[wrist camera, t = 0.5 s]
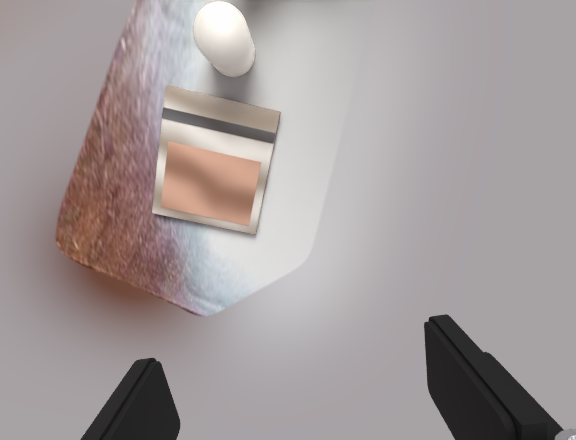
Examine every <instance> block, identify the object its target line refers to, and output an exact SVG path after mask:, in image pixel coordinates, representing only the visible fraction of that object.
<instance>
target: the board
mask: <svg viewBox="0 0 576 440" xmlns="http://www.w3.org/2000/svg"><path fill="white" fill-rule="evenodd" d="M279 117H280V112H279V111H275V110H270V109H266V108H262V107H258V106H253V105H249V104H245V103H241V102H237V101H232V100H228V99H224V98H220V97H215V96H211V95H207V94H203V93H198V92H194V91H190V90H186V89H182V88H177V87H173V86H169V85H166V89H165V98H164V107H163V113H162V126H161V135H160V144H159V153H158V163H157V172H156V181H155V190H154V199H153V209H152V213H155V214H160V215H164V216H169V217H174V218H179V219H183V220H188V221H193V222H197V223H202V224H207V225H212V226H216V227H221V228H226V229H231V230H235V231H240V232H245V233H250V234H254V235H255V234H256V229H257V224H258V220H259V215H260V210H261V205H262V200H263V195H264V190H265V185H266V180H267V175H268V171H269V166H270V161H271V156H272V151H273V146H274V141H275V136H276V131H277V127H278V122H279Z"/></svg>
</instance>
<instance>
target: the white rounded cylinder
mask: <svg viewBox="0 0 576 440" xmlns="http://www.w3.org/2000/svg"><path fill="white" fill-rule="evenodd" d="M193 32H194V39H195V42H196V45H197V47H198V49H199V50H200V52H201V53H202V54H203V55H204V56H205V57H206V58H207V59H208V60H209V61H210V62H211V63H212V64H213V65H214V67H215V68H216V69H217V70H218V71H219V72H221V73H222V74H224V75H226V76H229V77H238V76H241V75H243V74H245V73H246V72H248V71H249V69H250V68H251V67H252V65H253V62H254V59H255V47H254V44H253V41H252V38H251V35H250V32H249V29H248V26H247V23H246V20H245V18H244V16H243V15H242V13H241V12H240V11H239V10H238V9H237V8H236V7H235V6H233V5H231V4H229V3H227V2H222V1H217V2H212V3H209V4H207V5H206V6H204V7H203V8H202V9H201V10H200V11H199V13H198V15H197V17H196V19H195V22H194V28H193Z"/></svg>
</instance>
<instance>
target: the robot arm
mask: <svg viewBox="0 0 576 440" xmlns="http://www.w3.org/2000/svg"><path fill="white" fill-rule="evenodd" d="M424 329H425V348H426V365H427V383H428V389H429V393H430V395H431V397H432V399H433V401H434V403H435V405H436V406H437V408H438V410H439V412H440V414H441V415H442V417H443V419H444V421H445V422H446V424H447V426H448V428H449V429H450V431H451V433H452V435H453V437H454V438H455V440H576V429H568V430H563V429H562V428H561V427H560V425H559V424H557V422H556V421H555V420H554V419H553V418H552V417H551V416H550V415H549V414H548V413H547V412H546V411H545V410H544V409H543V408H542V407H541V406H540V405H539V404H538V403H537V402H536V401H535V399H534V398H533V397H532V396H531V395H530V394H529V393H528V392H527V391H526V390H525V389H524V388H523V387H522V386H521V385H520V384H519V383H518V382H517V381H516V380H515V379H514V378H513V377H512V376H511V374H510V373H508V371H507V370H506V369H505V368H504V367H503V366H502V365H501V364H500V363H499V362H498V361H497V360H496V359H495V358H494V357H493V356H492V355H491V354H489V353H487V352H482V351H481V349H480V348H479V347H478V346H477V345H476V344H475V343H474V342H473V341H472V340H471V339H470V338H469V337H468V335H467V334H466V333H465V332H464V331H463V330H462V329H461V328H460V327H459V326H458V325H457V324H456V323H455V322H454V320H453V319H452V318H451V317H450V316H449V315H439V316H432V317H430V318H429V322H425V323H424ZM179 430H180V419H179V416H178V413H177V410H176V407H175V404H174V401H173V398H172V395H171V392H170V389H169V386H168V383H167V380H166V377H165V374H164V371H163V368H162V365H161V363H160V362H159V361H156V359H155V358H148V359H141V360H137V361H135V362H134V364H133V365H132V366H131V368H130V369H129V371H128V372H127V374H126V375H125V376H124V378H123V379H122V381H121V382H120V384H119V385H118V387H117V388H116V389H115V391H114V392H113V394H112V395H111V397H110V398H109V400H108V401H107V403H106V404H105V405H104V407H103V408H102V410H101V411H100V413H99V414H98V416H97V417H96V418H95V420H94V421H93V423H92V424H91V426H90V427H89V429H88V430H87V431H86V433H85V434H84V435H83V437H82V438H81V440H176V438H177V436H178V433H179Z"/></svg>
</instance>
